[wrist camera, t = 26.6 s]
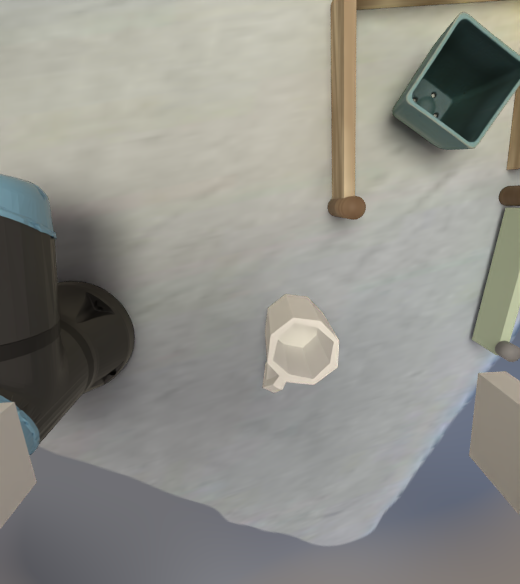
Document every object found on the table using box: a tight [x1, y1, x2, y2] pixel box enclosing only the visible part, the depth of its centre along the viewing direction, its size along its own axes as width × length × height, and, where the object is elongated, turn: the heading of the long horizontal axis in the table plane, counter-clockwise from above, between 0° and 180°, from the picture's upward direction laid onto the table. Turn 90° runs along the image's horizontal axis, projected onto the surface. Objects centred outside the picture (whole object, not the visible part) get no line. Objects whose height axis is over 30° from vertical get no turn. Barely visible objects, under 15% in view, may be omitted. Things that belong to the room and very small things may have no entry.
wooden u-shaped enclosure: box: [328, 0, 520, 219], centre depth 37 cm, size 24×24×8 cm
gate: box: [472, 208, 520, 362], centre depth 43 cm, size 18×2×7 cm, turn 175°
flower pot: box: [392, 12, 520, 150], centre depth 37 cm, size 9×9×9 cm
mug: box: [262, 294, 339, 393], centre depth 44 cm, size 12×9×10 cm
